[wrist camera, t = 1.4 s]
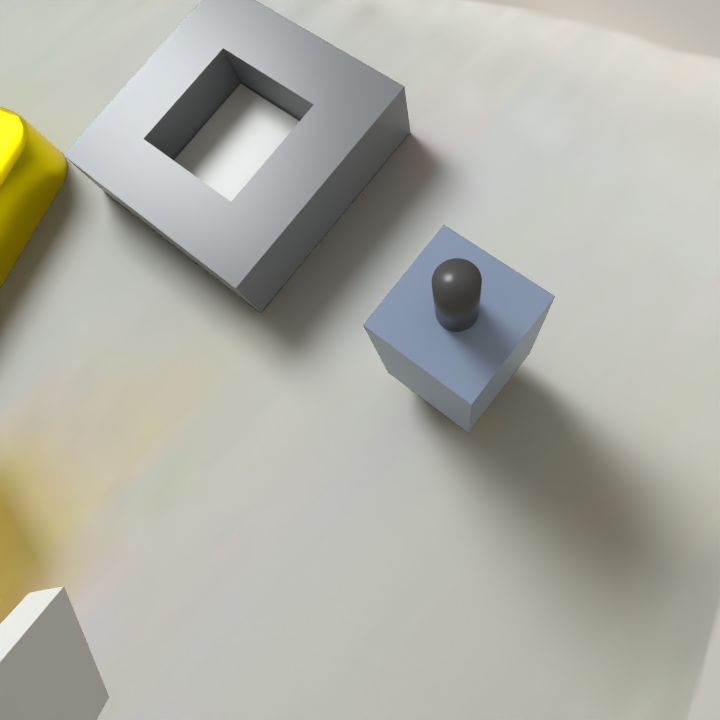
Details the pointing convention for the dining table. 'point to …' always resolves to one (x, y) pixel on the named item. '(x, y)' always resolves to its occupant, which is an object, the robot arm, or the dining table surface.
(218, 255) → the socket
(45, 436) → the dining table surface
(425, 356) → the plug
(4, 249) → the element tile
